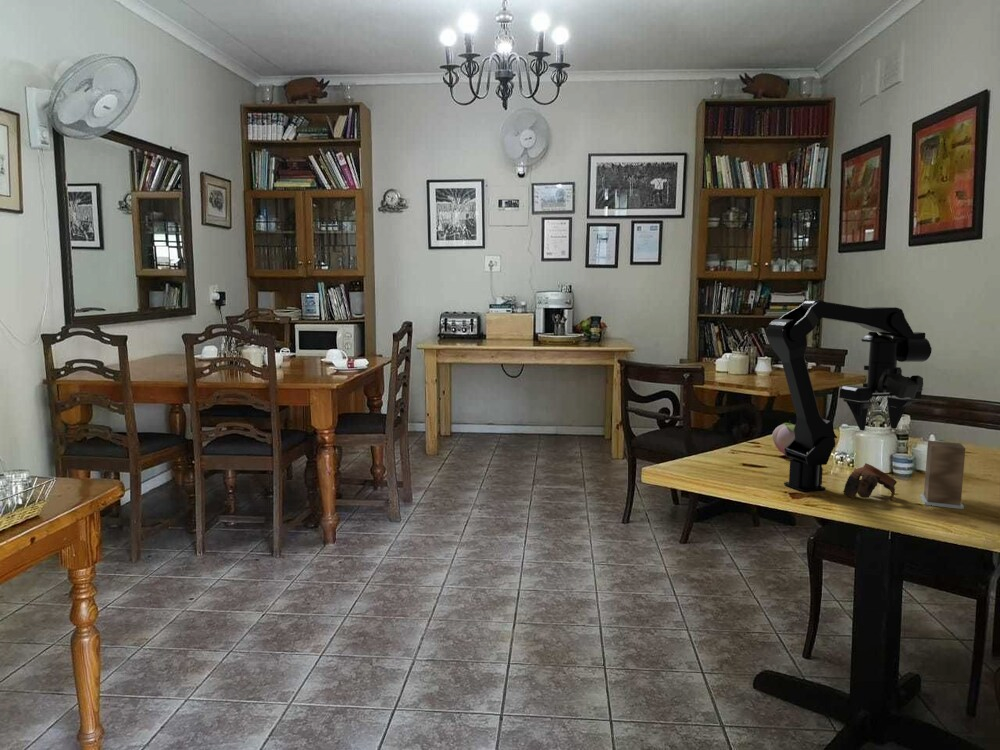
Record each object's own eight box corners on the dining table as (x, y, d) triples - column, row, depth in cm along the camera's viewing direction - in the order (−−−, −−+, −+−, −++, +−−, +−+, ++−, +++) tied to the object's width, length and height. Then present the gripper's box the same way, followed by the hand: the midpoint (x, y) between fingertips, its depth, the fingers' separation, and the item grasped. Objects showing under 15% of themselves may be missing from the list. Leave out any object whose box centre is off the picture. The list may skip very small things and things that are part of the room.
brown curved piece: (840, 490, 164) (861, 460, 163) (880, 515, 160) (902, 485, 159) (837, 489, 154) (859, 457, 153) (880, 516, 149) (903, 482, 148)
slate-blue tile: (924, 504, 152) (924, 501, 152) (920, 496, 158) (920, 493, 158) (963, 509, 149) (963, 506, 149) (957, 500, 156) (958, 497, 156)
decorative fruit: (811, 460, 192) (813, 423, 191) (781, 460, 192) (783, 423, 191) (796, 452, 202) (798, 417, 201) (767, 452, 202) (769, 417, 200)
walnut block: (927, 501, 152) (931, 445, 151) (923, 494, 158) (928, 440, 156) (960, 505, 150) (965, 448, 148) (955, 498, 155) (960, 443, 154)
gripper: (878, 366, 155) (873, 438, 156) (945, 364, 160) (939, 433, 162) (839, 361, 165) (835, 428, 167) (903, 360, 171) (898, 425, 173)
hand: (877, 429), depth 167 cm, fingers open, 9 cm apart
